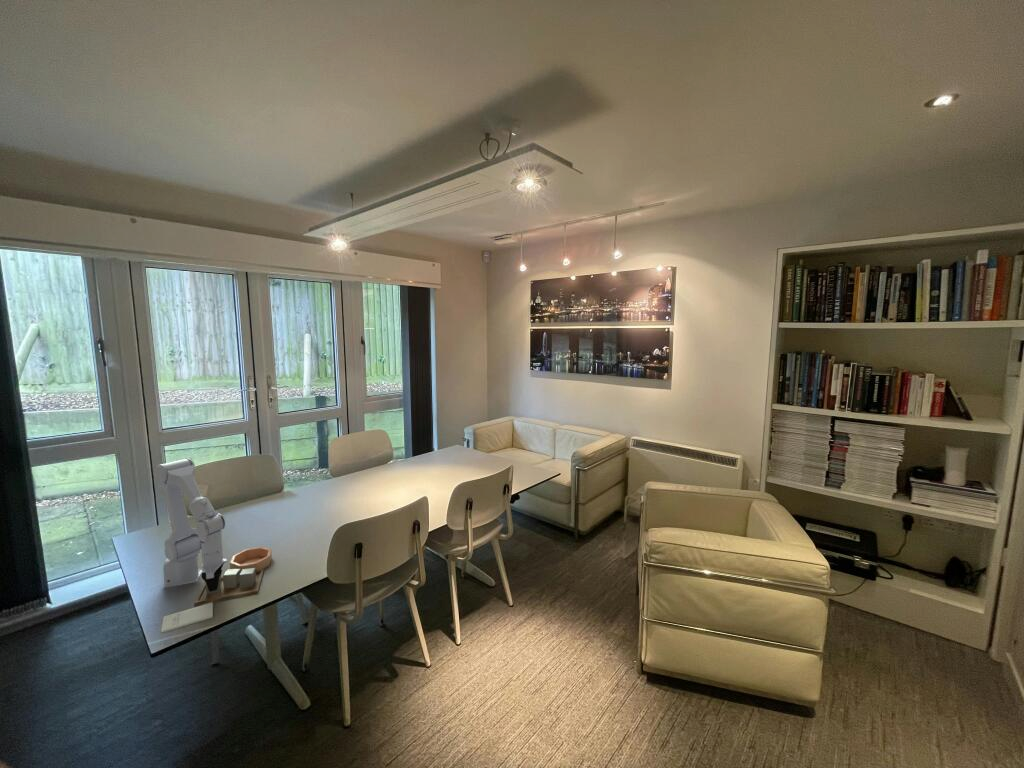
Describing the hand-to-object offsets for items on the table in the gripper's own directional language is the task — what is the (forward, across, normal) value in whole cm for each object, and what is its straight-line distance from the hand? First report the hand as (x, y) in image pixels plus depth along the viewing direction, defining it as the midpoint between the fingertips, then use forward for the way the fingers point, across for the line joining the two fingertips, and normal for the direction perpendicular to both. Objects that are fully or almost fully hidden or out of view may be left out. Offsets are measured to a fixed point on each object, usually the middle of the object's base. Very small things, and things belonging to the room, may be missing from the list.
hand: (214, 587), depth 140 cm
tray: (+2, 0, -5) cm, 5 cm away
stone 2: (+1, +1, -5) cm, 5 cm away
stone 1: (+1, 0, 0) cm, 1 cm away
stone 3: (+1, -1, -10) cm, 10 cm away
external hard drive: (+2, -12, +5) cm, 14 cm away
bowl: (+2, +13, -10) cm, 17 cm away
